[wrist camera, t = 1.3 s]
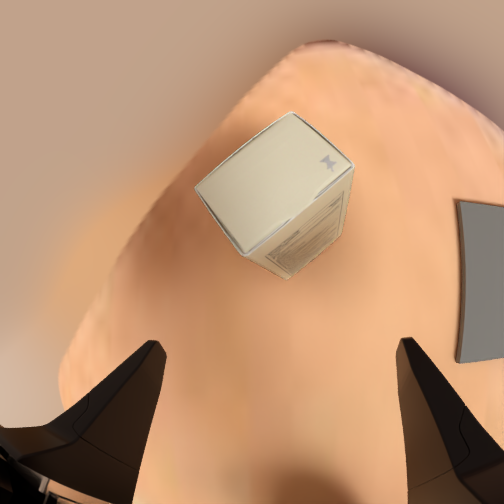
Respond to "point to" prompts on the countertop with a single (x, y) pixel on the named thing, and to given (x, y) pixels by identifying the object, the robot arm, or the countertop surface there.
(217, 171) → the skincare box
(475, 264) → the charcoal mat
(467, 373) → the countertop surface
